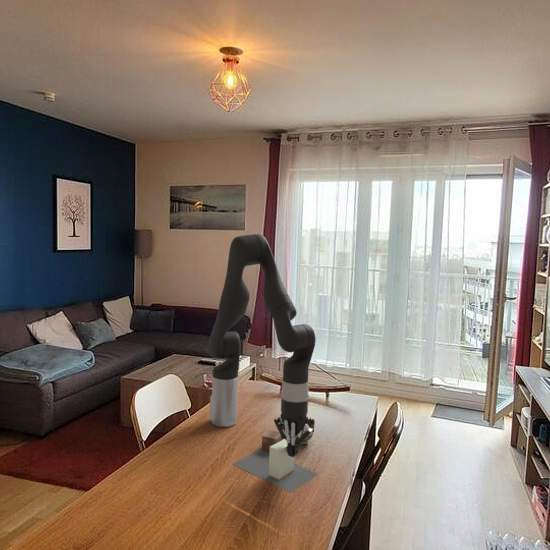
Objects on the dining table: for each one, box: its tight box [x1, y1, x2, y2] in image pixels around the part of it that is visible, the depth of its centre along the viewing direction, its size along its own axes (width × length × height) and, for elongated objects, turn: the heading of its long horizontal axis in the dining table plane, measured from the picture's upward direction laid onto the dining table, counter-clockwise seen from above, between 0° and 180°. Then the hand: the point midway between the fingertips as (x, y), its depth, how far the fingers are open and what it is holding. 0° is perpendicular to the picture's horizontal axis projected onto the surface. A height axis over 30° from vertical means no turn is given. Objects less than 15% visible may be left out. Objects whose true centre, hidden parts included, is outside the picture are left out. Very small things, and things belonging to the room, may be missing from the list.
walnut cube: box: [261, 429, 284, 452], centre depth 146 cm, size 5×5×5 cm
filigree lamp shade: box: [299, 416, 315, 446], centre depth 150 cm, size 8×7×8 cm
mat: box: [232, 448, 319, 494], centre depth 133 cm, size 22×13×1 cm, turn 51°
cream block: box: [269, 439, 295, 480], centre depth 131 cm, size 4×7×8 cm, turn 141°
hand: (292, 455), depth 128 cm, fingers closed
